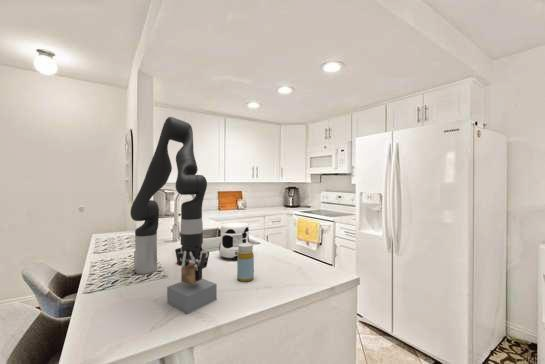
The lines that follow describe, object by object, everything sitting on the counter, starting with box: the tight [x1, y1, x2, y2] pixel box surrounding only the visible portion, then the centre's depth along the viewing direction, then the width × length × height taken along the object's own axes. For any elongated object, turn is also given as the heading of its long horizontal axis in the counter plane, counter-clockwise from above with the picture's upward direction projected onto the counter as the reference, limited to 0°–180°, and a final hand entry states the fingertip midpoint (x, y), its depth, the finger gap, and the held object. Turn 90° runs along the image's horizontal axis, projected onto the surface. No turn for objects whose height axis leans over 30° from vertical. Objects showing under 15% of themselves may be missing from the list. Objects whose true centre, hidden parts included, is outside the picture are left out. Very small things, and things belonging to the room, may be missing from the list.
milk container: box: [218, 221, 250, 260], centre depth 141 cm, size 17×17×18 cm
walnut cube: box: [180, 264, 203, 285], centre depth 89 cm, size 5×5×5 cm
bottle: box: [236, 242, 255, 283], centre depth 109 cm, size 7×7×15 cm
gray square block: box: [166, 278, 218, 315], centre depth 90 cm, size 12×12×6 cm
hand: (192, 278), depth 89 cm, fingers closed on walnut cube, 4 cm apart
